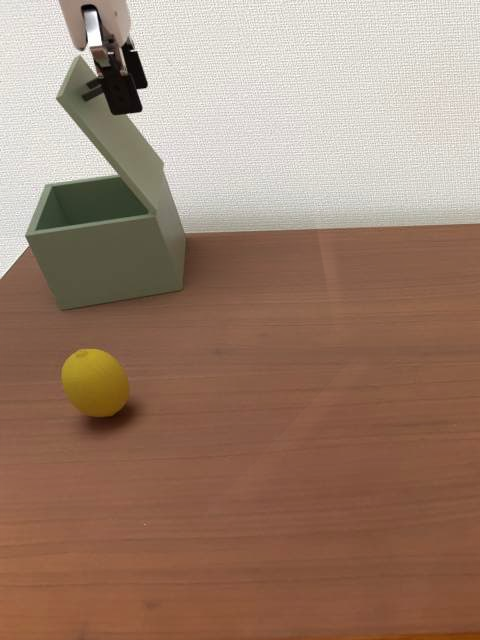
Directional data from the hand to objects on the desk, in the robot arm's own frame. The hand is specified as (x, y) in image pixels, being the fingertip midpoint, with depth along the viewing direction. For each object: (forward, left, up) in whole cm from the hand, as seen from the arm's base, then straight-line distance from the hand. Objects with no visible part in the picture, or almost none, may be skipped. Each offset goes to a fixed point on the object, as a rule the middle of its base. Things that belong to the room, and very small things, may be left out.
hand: (130, 99), depth 92 cm
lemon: (-6, -29, -21) cm, 37 cm away
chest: (-7, 0, -21) cm, 22 cm away
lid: (-3, 0, -4) cm, 5 cm away
